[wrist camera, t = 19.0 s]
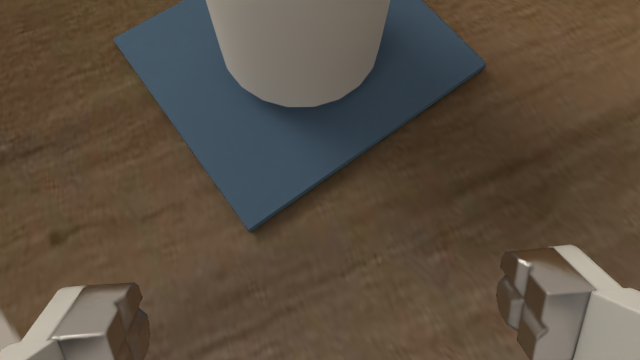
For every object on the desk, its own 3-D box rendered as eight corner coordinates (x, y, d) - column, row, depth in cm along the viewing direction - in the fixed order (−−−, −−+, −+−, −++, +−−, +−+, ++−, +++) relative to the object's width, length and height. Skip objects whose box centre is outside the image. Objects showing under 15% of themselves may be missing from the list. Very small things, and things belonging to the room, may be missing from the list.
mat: (249, 233, 19) (248, 230, 18) (116, 44, 22) (112, 38, 22) (483, 69, 22) (487, 63, 21) (337, -76, 25) (337, -83, 25)
